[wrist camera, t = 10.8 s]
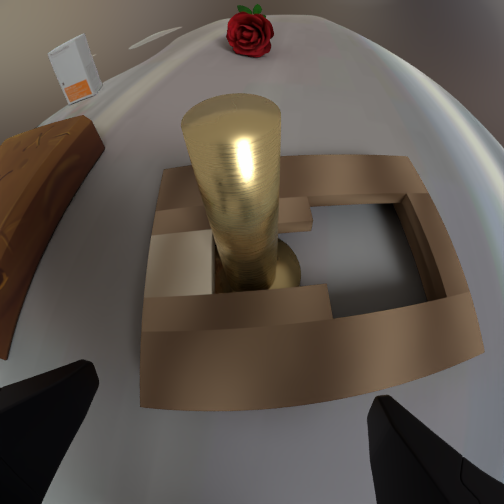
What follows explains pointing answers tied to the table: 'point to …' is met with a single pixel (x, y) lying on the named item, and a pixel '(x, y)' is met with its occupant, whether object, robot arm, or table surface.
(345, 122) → the table surface
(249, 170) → the brass peg
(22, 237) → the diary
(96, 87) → the skincare box
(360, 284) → the table surface
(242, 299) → the keyhole plate
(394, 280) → the table surface
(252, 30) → the flower
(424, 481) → the robot arm
